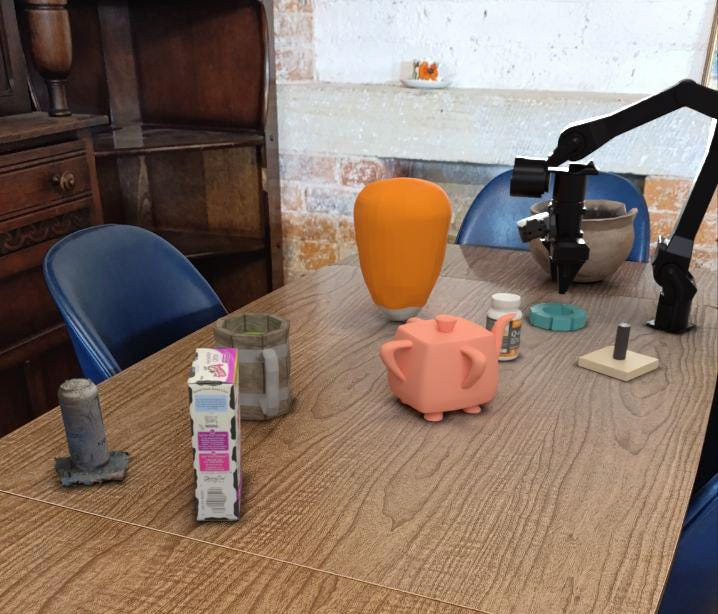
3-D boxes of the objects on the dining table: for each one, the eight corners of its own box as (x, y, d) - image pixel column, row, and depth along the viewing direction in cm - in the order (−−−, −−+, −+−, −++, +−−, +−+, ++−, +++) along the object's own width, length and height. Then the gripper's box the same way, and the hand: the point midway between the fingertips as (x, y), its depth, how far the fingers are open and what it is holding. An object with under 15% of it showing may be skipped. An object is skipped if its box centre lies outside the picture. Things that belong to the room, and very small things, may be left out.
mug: (210, 396, 128) (204, 316, 122) (281, 387, 131) (279, 309, 125) (235, 440, 115) (230, 353, 109) (314, 429, 118) (313, 344, 112)
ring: (551, 310, 167) (552, 299, 166) (594, 323, 161) (596, 311, 160) (518, 320, 161) (520, 309, 160) (562, 334, 155) (564, 322, 154)
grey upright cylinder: (61, 493, 101) (45, 397, 96) (53, 465, 107) (38, 373, 102) (140, 480, 105) (129, 386, 99) (128, 453, 111) (117, 363, 105)
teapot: (375, 419, 121) (377, 328, 115) (400, 379, 135) (403, 295, 128) (495, 434, 117) (505, 341, 111) (509, 391, 131) (518, 306, 125)
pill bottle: (517, 363, 142) (523, 303, 137) (482, 360, 143) (487, 300, 138) (518, 351, 147) (525, 293, 142) (484, 348, 148) (489, 290, 143)
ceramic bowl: (639, 293, 178) (651, 218, 171) (532, 292, 178) (540, 216, 171) (612, 266, 198) (623, 197, 191) (516, 264, 198) (523, 195, 191)
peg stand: (609, 353, 146) (615, 312, 143) (657, 368, 141) (665, 326, 137) (577, 365, 141) (583, 323, 138) (626, 381, 135) (633, 338, 132)
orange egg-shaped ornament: (337, 328, 156) (337, 182, 144) (372, 302, 170) (374, 167, 158) (429, 341, 150) (437, 190, 139) (457, 314, 164) (467, 174, 153)
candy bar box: (242, 521, 96) (234, 382, 89) (196, 523, 96) (184, 383, 88) (245, 474, 106) (238, 345, 98) (203, 475, 106) (193, 346, 98)
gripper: (516, 189, 163) (508, 272, 170) (528, 209, 146) (519, 300, 154) (576, 191, 163) (566, 274, 170) (595, 210, 146) (583, 302, 153)
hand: (557, 287), depth 162 cm, fingers open, 9 cm apart
